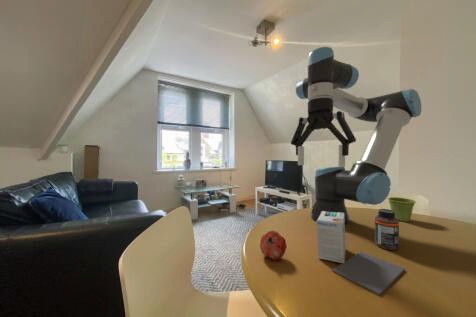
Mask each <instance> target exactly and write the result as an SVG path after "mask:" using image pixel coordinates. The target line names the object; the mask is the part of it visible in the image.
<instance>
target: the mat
mask: <svg viewBox="0 0 476 317" xmlns="http://www.w3.org/2000/svg"><path fill="white" fill-rule="evenodd" d="M331 270H332V272H333V273H335V274H337V275H339V276H341V277H343V278H344V279H347V280H348V281H350V282H352V283H353V284H355V285H358V286H360V287H362V288H364V289H366V290H368V291H369V292H372V293H374V294H375V295H377V296H380V295H382V294H383V293H384V292H385V291H386V290H387V288H389V287H390V285H392V283H393V282H395V281H396V280H397V279H398V278H399V277H400V275H402V274H403V272H405V267H402V266H400V265H397V264H394V263H392V262H389V261H386V260H384V259H380V258H378V257H376V256H374V255H371V254H368V253H365V252H364V251H360V252H358V253H357V254H354V255H353V256H352V257H350V258H348V259H347V260H345V262H344V264H343V263H339V265H337V266H335V267H333V268H332V269H331Z"/></svg>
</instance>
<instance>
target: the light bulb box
mask: <svg viewBox="0 0 476 317" xmlns="http://www.w3.org/2000/svg"><path fill="white" fill-rule="evenodd" d="M316 236H317V237H316V239H317V241H316V242H317V258H318V259H319V260H324V261H329V262H333V263H334V262H335V263H339V264H342V263H343V264H344V262H345V261H346V251H347V250H346V249H347V248H346V245H347V244H346V224H345V219H344V213H339V212H327V211H321V214H320V216H319V217H318V219H317V221H316Z"/></svg>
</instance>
